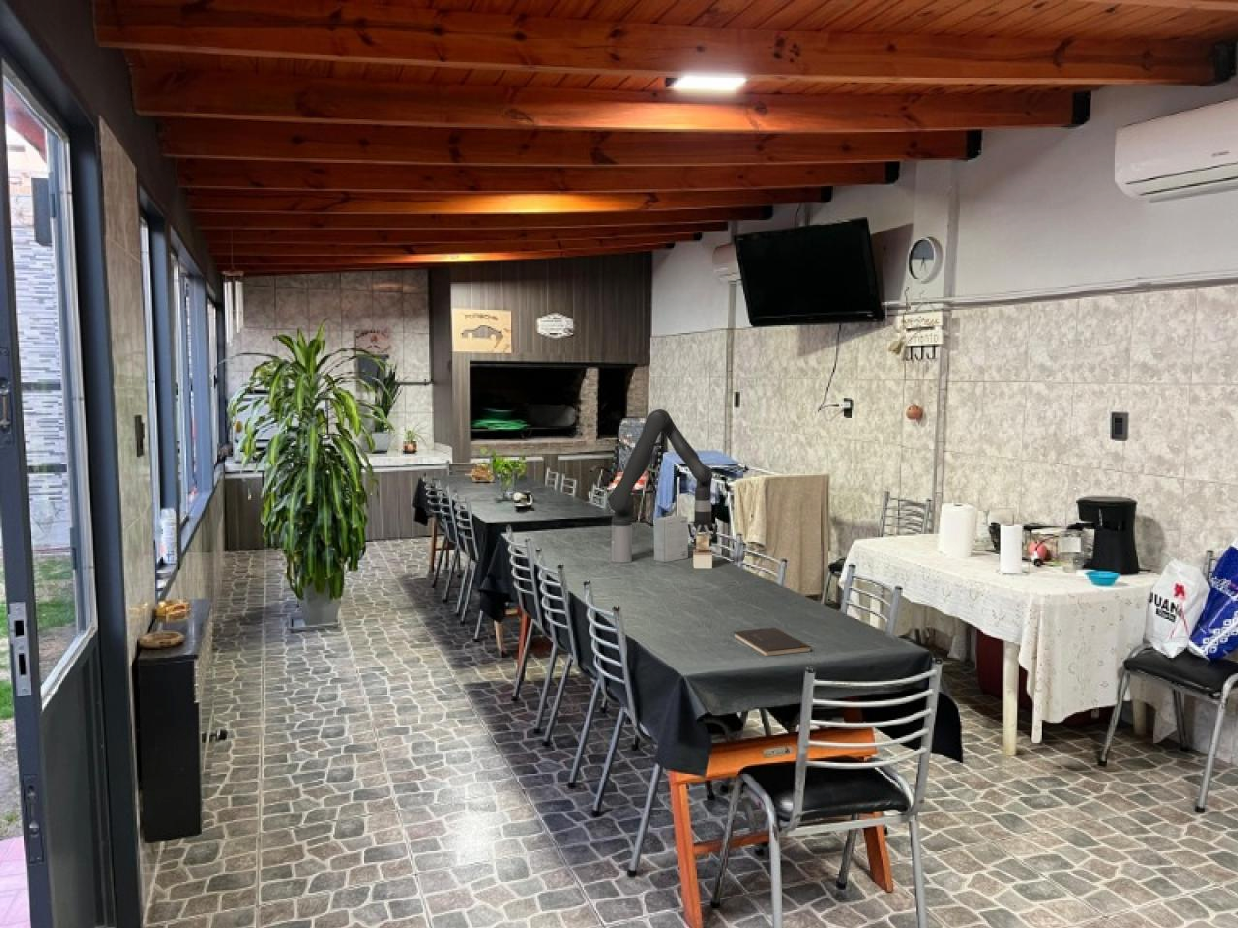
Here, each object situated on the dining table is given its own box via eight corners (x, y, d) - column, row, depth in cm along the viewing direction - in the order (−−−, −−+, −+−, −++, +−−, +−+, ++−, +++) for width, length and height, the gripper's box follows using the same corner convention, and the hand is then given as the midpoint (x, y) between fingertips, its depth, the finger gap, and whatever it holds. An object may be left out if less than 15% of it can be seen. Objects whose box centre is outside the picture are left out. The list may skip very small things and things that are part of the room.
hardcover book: (765, 658, 286) (765, 650, 286) (733, 638, 308) (733, 631, 308) (811, 652, 291) (811, 645, 291) (776, 633, 313) (776, 627, 313)
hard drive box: (677, 556, 445) (677, 514, 443) (688, 558, 439) (688, 516, 437) (653, 560, 435) (653, 518, 433) (664, 562, 429) (664, 520, 427)
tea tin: (693, 568, 417) (693, 553, 416) (692, 564, 425) (692, 549, 424) (712, 568, 417) (712, 553, 416) (711, 564, 425) (711, 549, 424)
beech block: (696, 549, 417) (696, 536, 417) (696, 547, 423) (696, 534, 422) (708, 549, 417) (708, 536, 417) (708, 547, 423) (708, 534, 422)
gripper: (687, 510, 415) (686, 548, 416) (719, 510, 414) (718, 548, 416) (686, 508, 422) (686, 545, 424) (718, 508, 422) (717, 545, 423)
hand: (702, 546), depth 420 cm, fingers closed on beech block, 5 cm apart
